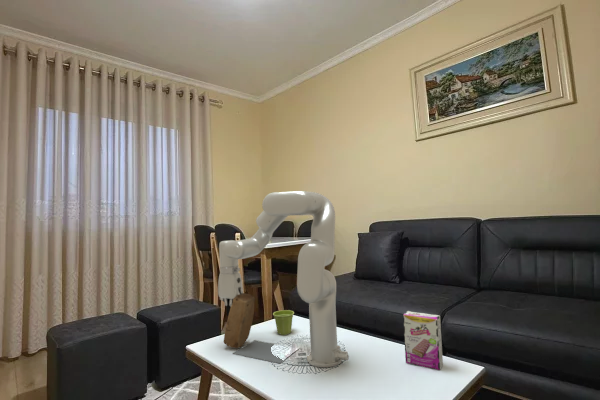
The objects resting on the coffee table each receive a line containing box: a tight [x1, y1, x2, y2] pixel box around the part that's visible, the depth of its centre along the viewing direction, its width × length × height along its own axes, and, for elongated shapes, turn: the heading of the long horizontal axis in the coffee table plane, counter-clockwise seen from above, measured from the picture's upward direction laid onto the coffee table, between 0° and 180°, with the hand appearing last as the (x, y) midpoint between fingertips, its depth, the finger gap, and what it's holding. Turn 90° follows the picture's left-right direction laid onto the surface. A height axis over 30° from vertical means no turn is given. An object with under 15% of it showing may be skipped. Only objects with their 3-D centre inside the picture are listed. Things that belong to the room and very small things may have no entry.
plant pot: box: [272, 309, 295, 336], centre depth 144 cm, size 9×9×9 cm
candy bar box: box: [403, 310, 444, 371], centre depth 109 cm, size 11×5×16 cm, turn 56°
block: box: [223, 292, 256, 349], centre depth 132 cm, size 11×8×20 cm
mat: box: [232, 339, 284, 365], centre depth 125 cm, size 22×14×1 cm, turn 61°
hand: (230, 315), depth 134 cm, fingers closed
